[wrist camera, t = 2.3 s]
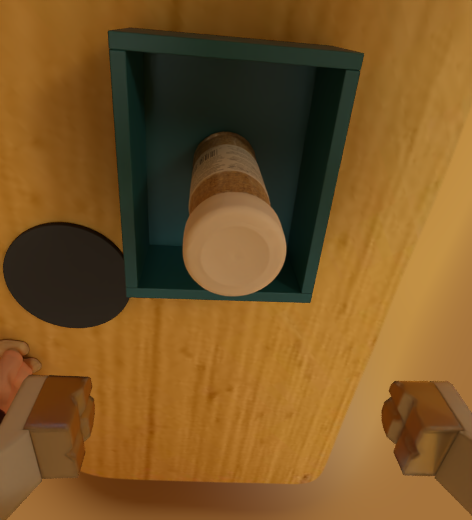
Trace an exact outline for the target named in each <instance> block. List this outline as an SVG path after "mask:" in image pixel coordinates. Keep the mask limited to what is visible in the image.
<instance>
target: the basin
mask: <svg viewBox="0 0 472 520" xmlns="http://www.w3.org/2000/svg"><path fill="white" fill-rule="evenodd" d="M108 42H109V49H110V50H109V56H110V70H111V85H112V99H113V113H114V127H115V142H116V156H117V170H118V184H119V199H120V213H121V227H122V241H123V256H124V270H125V284H126V297H136V298H168V299H200V300H233V301H265V302H297V303H310V302H311V298H312V293H313V288H314V284H315V279H316V274H317V270H318V265H319V260H320V256H321V251H322V247H323V242H324V237H325V233H326V228H327V223H328V219H329V214H330V210H331V205H332V200H333V196H334V191H335V186H336V182H337V177H338V172H339V168H340V163H341V159H342V154H343V149H344V145H345V140H346V135H347V131H348V126H349V122H350V117H351V112H352V108H353V103H354V98H355V94H356V89H357V85H358V80H359V75H360V71H359V70H361V66H362V62H363V57H364V53H361V52H356V51H352V50H348V49H343V48H339V47H335V46H328V45H317V44H306V43H295V42H284V41H273V40H261V39H250V38H239V37H228V36H217V35H206V34H195V33H184V32H172V31H161V30H150V29H139V28H125V29H117V30H109V31H108ZM217 132H232V133H237V134H238V135H240V136H242V137H243V138H245V139H246V140H247V141H248V142H249V143H250V145H251V147H252V148H253V150H254V152H255V157H256V162H257V164H258V167H259V169H260V172H261V175H262V178H263V181H264V184H265V187H266V190H267V193H268V196H269V201H270V206H271V208H272V209H273V210H274V211H275V213H276V214H277V216H278V218H279V221H280V223H281V226H282V229H283V233H284V236H285V240H286V257H285V261H284V264H283V266H282V269H281V270H280V272H279V274H278V275H277V276H276V277H275V279H274V280H273V281H272V282H271V283H269V284H268V285H267V286H265V287H264V288H262V289H261V290H258V291H256V292H254V293H251V294H248V295H243V296H223V295H218V294H215V293H212V292H210V291H208V290H206V289H204V288H203V287H201V286H200V285H199V284H198V283H197V282H195V280H194V279H193V278H192V277H191V276H190V274H189V273H188V271H187V269H186V267H185V263H184V259H183V236H184V229H185V225H186V222H187V220H188V218H189V197H190V187H191V179H192V172H193V159H194V153H195V151H196V149H197V147H198V145H199V144H200V143H201V142H202V141H203V140H204V139H205V138H206V137H208V136H210V135H211V134H214V133H217Z"/></svg>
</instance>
